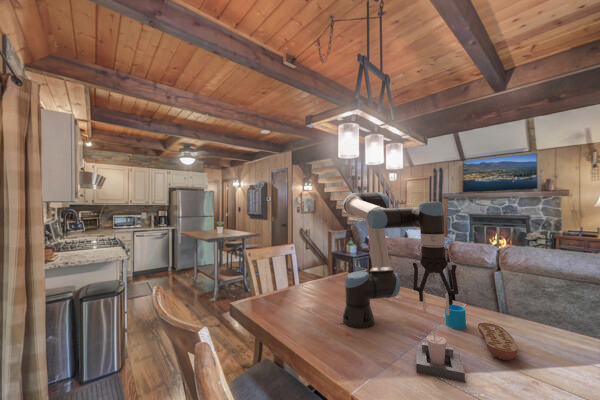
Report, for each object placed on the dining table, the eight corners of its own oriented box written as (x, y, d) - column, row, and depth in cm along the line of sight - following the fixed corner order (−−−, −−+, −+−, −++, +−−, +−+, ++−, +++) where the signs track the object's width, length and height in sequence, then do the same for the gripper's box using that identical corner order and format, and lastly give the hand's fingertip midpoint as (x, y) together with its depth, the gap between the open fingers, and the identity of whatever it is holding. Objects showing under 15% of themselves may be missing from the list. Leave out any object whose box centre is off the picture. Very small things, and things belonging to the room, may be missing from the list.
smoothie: (423, 363, 92) (421, 323, 92) (440, 361, 92) (438, 322, 93) (434, 374, 85) (432, 331, 86) (452, 372, 86) (450, 330, 86)
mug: (465, 331, 113) (464, 312, 114) (444, 326, 118) (443, 308, 118) (467, 321, 123) (466, 303, 123) (447, 317, 128) (447, 300, 128)
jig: (416, 372, 87) (415, 357, 87) (416, 355, 97) (415, 341, 97) (465, 382, 81) (464, 366, 81) (459, 363, 91) (459, 348, 91)
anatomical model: (476, 332, 112) (475, 321, 112) (504, 337, 108) (503, 324, 108) (489, 362, 91) (489, 348, 91) (525, 368, 87) (524, 353, 87)
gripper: (402, 246, 91) (405, 312, 90) (467, 248, 83) (471, 321, 82) (403, 243, 97) (406, 304, 97) (463, 244, 89) (467, 312, 89)
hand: (436, 312), depth 89 cm, fingers open, 6 cm apart
